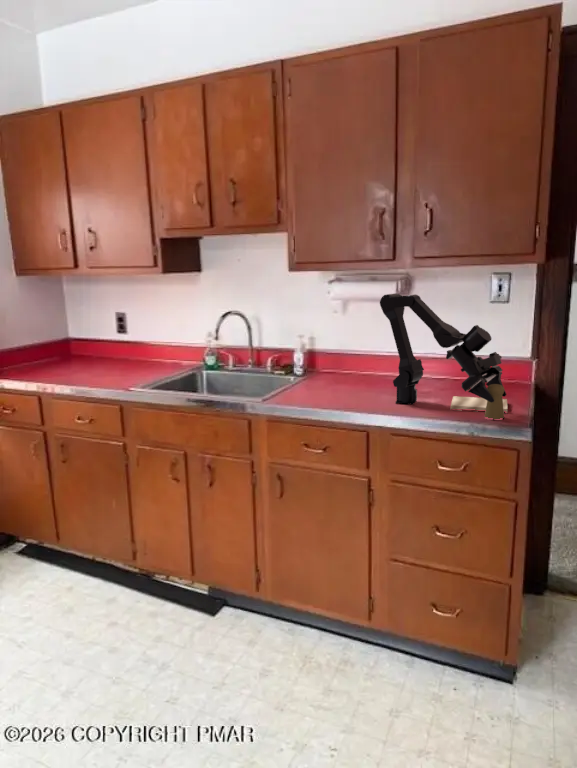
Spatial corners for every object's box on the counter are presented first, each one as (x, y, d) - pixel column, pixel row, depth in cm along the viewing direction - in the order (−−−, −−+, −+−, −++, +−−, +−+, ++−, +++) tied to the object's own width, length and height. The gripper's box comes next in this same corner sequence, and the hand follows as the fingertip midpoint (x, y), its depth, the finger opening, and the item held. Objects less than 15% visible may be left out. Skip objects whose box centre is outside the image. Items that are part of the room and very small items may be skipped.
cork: (505, 421, 178) (506, 387, 175) (484, 420, 180) (486, 386, 177) (503, 415, 184) (505, 382, 181) (483, 414, 185) (485, 382, 183)
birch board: (450, 409, 192) (450, 405, 192) (453, 400, 204) (453, 396, 204) (507, 413, 186) (507, 408, 186) (506, 403, 198) (507, 399, 198)
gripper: (472, 349, 172) (506, 389, 167) (498, 341, 186) (530, 378, 181) (447, 371, 179) (479, 410, 174) (474, 362, 193) (504, 398, 188)
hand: (499, 398), depth 179 cm, fingers open, 9 cm apart
